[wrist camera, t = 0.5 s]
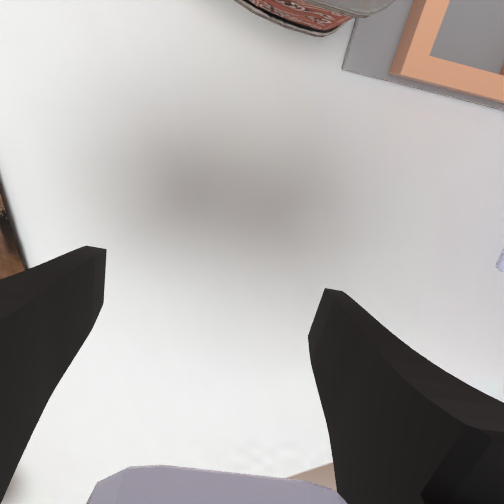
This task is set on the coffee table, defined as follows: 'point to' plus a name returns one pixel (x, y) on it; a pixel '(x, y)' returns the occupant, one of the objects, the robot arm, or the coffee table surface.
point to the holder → (435, 48)
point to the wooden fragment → (8, 248)
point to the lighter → (314, 13)
